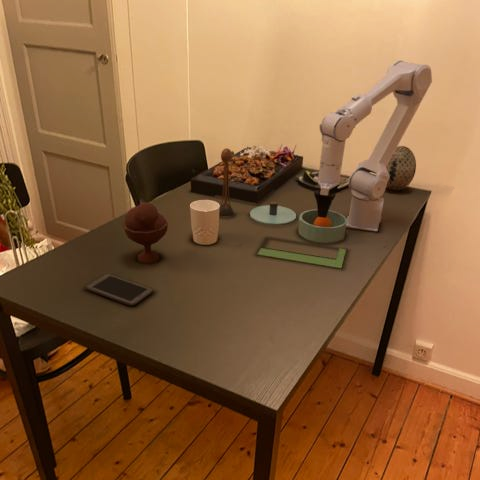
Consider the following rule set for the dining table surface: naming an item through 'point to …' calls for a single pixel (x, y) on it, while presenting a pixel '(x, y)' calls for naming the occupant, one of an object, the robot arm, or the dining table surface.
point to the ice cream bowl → (145, 229)
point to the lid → (273, 214)
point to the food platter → (249, 174)
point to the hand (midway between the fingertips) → (324, 211)
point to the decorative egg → (401, 168)
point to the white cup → (205, 221)
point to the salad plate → (308, 182)
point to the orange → (322, 222)
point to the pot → (322, 232)
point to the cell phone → (119, 289)
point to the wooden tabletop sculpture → (226, 183)
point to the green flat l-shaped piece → (305, 257)
